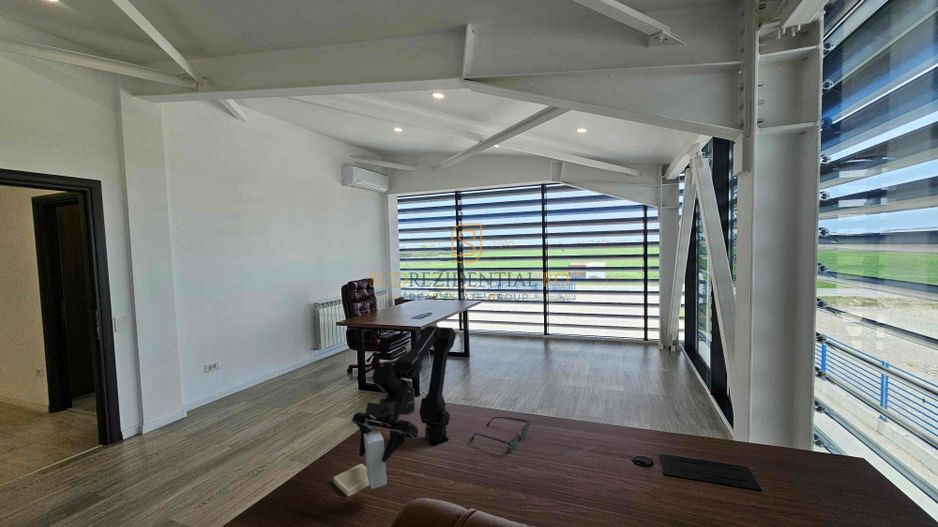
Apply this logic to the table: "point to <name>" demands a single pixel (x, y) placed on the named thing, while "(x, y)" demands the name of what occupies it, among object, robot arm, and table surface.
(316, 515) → the table surface
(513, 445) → the sunglasses
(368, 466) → the skincare box
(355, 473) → the plinth
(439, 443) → the robot arm
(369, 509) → the table surface
